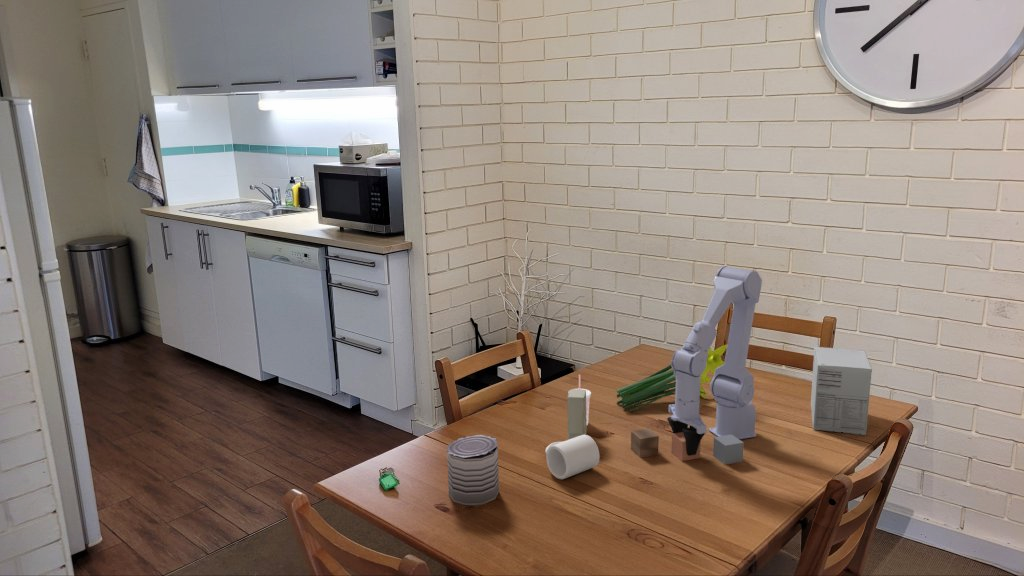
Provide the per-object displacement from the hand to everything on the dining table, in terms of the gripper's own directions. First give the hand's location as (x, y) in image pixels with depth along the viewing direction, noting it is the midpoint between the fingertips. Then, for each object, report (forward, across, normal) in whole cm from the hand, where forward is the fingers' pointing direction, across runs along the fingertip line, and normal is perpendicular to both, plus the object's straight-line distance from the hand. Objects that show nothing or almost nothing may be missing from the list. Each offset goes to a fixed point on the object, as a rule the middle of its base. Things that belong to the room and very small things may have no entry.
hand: (685, 449), depth 185 cm
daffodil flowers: (+2, -31, +13) cm, 34 cm away
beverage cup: (+2, -27, -17) cm, 32 cm away
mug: (+2, -3, -30) cm, 30 cm away
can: (+2, +1, -54) cm, 54 cm away
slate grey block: (+2, +5, +9) cm, 10 cm away
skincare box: (+2, -19, -21) cm, 28 cm away
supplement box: (+2, -5, +49) cm, 49 cm away
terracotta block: (+1, 0, 0) cm, 1 cm away
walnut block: (+2, -5, -9) cm, 10 cm away
